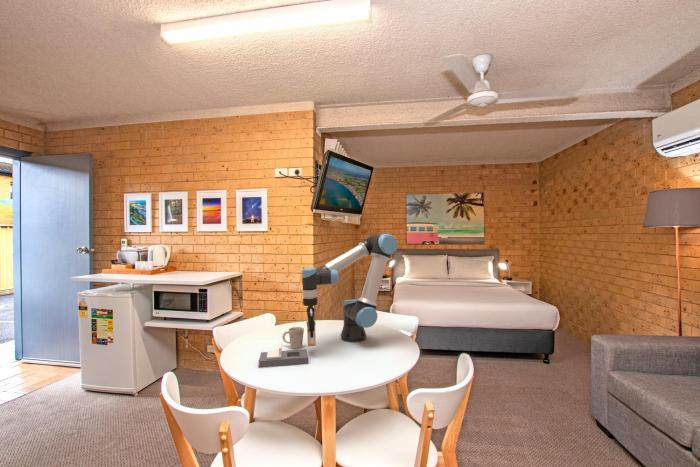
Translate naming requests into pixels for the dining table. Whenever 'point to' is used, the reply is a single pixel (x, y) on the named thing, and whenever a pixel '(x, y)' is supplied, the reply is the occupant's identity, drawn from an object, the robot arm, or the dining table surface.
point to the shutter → (275, 353)
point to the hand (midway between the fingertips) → (311, 341)
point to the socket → (285, 358)
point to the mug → (295, 337)
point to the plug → (308, 334)
